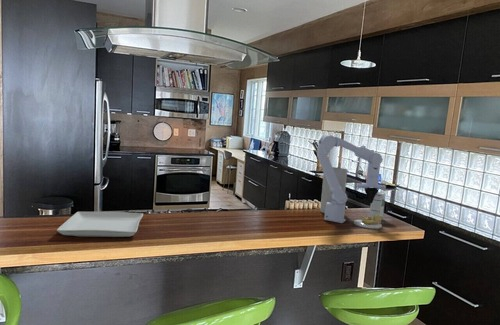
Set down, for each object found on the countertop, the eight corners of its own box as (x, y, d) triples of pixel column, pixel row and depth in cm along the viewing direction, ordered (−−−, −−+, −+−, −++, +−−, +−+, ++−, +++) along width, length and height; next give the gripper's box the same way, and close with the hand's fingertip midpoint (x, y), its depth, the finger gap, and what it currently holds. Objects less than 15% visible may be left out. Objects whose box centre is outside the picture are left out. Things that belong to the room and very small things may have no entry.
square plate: (55, 240, 123) (55, 229, 123) (77, 219, 150) (77, 210, 149) (135, 240, 128) (136, 230, 128) (143, 220, 155) (143, 212, 155)
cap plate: (351, 225, 171) (351, 218, 171) (357, 220, 182) (357, 213, 182) (379, 231, 165) (380, 223, 164) (383, 225, 176) (384, 218, 176)
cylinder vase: (339, 216, 188) (343, 170, 186) (316, 212, 194) (321, 167, 192) (345, 212, 199) (350, 169, 196) (324, 208, 205) (328, 166, 203)
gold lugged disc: (376, 225, 168) (377, 218, 168) (359, 222, 173) (360, 214, 172) (381, 223, 174) (382, 215, 174) (364, 219, 179) (365, 212, 178)
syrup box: (379, 221, 185) (382, 194, 183) (368, 218, 188) (371, 192, 187) (383, 219, 189) (386, 192, 188) (372, 217, 193) (374, 191, 191)
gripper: (363, 176, 172) (360, 204, 173) (390, 178, 175) (387, 204, 176) (356, 174, 179) (353, 200, 180) (382, 176, 181) (379, 201, 183)
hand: (369, 202), depth 178 cm, fingers closed
